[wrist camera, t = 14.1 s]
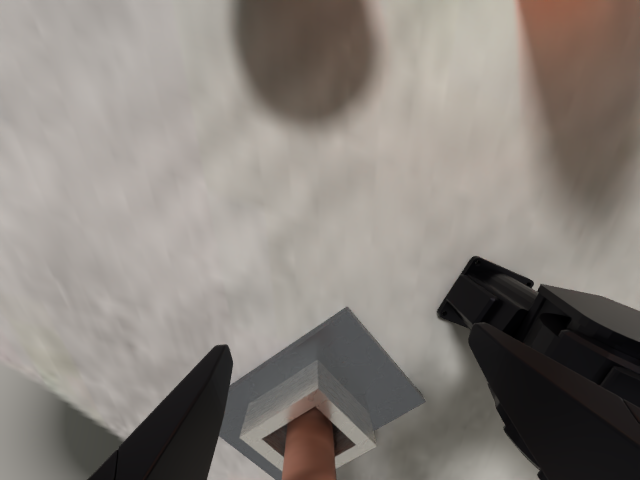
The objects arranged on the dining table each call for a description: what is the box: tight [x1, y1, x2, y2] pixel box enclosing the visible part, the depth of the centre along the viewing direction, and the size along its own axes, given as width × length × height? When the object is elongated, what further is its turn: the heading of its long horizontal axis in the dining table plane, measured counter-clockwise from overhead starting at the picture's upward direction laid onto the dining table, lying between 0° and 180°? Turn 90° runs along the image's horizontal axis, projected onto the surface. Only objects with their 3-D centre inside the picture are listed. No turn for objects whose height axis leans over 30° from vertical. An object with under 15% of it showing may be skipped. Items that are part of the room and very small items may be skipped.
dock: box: [219, 307, 426, 480], centre depth 24 cm, size 20×14×4 cm
